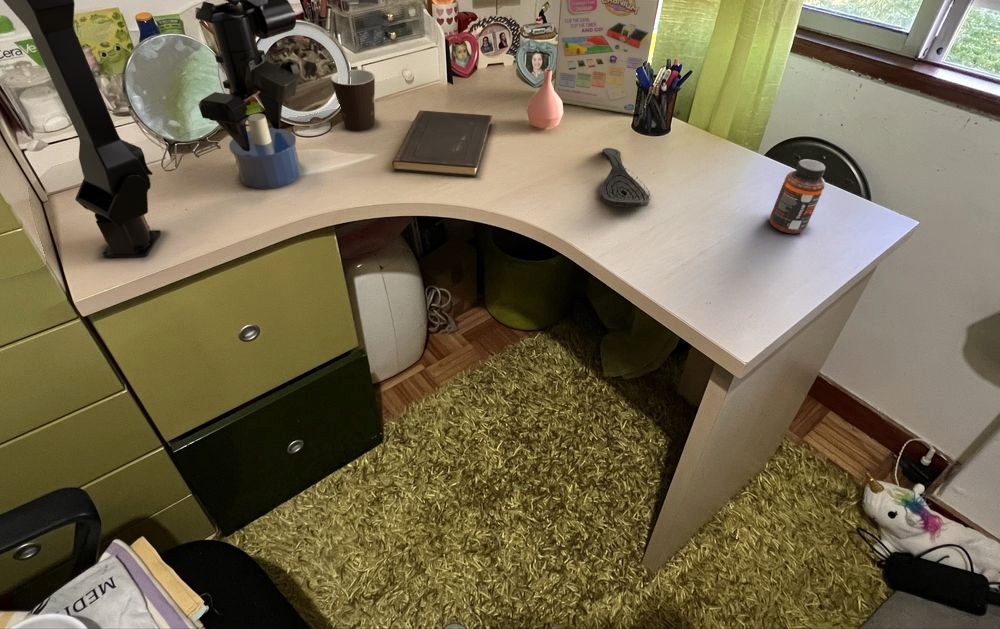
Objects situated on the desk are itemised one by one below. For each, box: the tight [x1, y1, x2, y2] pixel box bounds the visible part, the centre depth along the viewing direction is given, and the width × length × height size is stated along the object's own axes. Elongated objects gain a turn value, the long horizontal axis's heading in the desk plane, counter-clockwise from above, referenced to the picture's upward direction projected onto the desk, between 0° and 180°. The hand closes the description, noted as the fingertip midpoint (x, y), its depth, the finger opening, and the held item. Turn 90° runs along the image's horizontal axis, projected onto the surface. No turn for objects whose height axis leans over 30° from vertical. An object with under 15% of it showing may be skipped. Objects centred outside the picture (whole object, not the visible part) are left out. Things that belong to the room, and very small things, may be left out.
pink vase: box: [526, 68, 564, 130], centre depth 121 cm, size 8×8×12 cm
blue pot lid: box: [228, 113, 297, 159], centre depth 101 cm, size 11×11×6 cm
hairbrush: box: [599, 147, 651, 208], centre depth 107 cm, size 8×4×25 cm
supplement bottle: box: [769, 158, 826, 234], centre depth 95 cm, size 6×6×11 cm
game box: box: [553, 0, 663, 115], centre depth 126 cm, size 21×6×27 cm, turn 69°
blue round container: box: [233, 145, 302, 190], centre depth 105 cm, size 10×10×6 cm
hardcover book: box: [391, 109, 493, 178], centre depth 116 cm, size 16×23×2 cm
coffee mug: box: [330, 68, 376, 132], centre depth 122 cm, size 12×9×10 cm
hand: (262, 139), depth 102 cm, fingers open, 9 cm apart
